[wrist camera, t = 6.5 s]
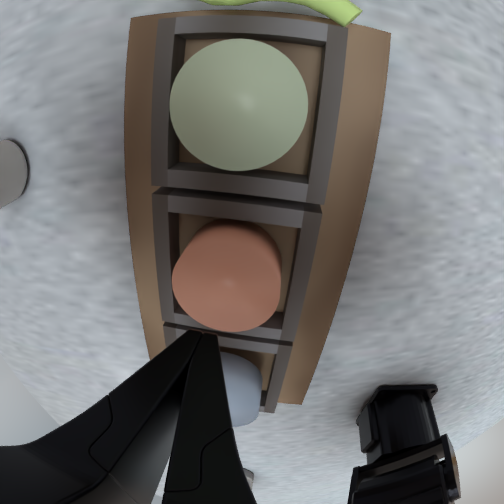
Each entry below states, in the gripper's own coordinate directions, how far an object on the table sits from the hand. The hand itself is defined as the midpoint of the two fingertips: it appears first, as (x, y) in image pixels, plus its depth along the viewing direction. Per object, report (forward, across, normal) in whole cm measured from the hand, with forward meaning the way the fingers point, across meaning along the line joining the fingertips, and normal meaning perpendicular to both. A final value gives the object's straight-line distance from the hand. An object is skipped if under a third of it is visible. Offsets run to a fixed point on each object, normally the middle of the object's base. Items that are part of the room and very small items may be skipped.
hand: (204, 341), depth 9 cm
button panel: (+10, 0, +2) cm, 10 cm away
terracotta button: (+7, 0, +2) cm, 8 cm away
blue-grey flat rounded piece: (+6, 0, +10) cm, 12 cm away
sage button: (+7, 0, -6) cm, 10 cm away
